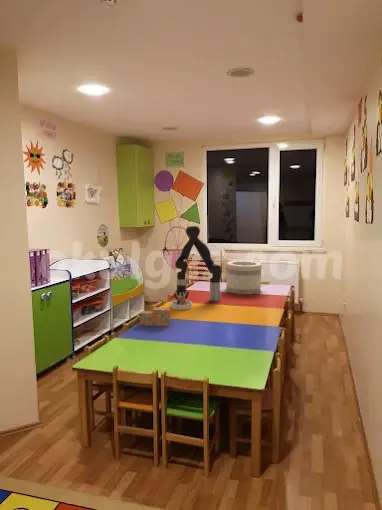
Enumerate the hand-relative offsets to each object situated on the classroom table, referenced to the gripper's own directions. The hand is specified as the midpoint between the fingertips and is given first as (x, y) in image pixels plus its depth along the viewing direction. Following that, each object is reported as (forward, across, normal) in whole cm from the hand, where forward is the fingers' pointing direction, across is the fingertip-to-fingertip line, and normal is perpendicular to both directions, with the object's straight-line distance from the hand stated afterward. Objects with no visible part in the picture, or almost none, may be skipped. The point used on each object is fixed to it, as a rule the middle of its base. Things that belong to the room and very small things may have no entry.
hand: (181, 303), depth 357 cm
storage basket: (+3, -83, -39) cm, 92 cm away
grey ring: (+3, 0, 0) cm, 3 cm away
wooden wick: (+1, 0, 0) cm, 1 cm away
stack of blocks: (+3, +35, +38) cm, 52 cm away
